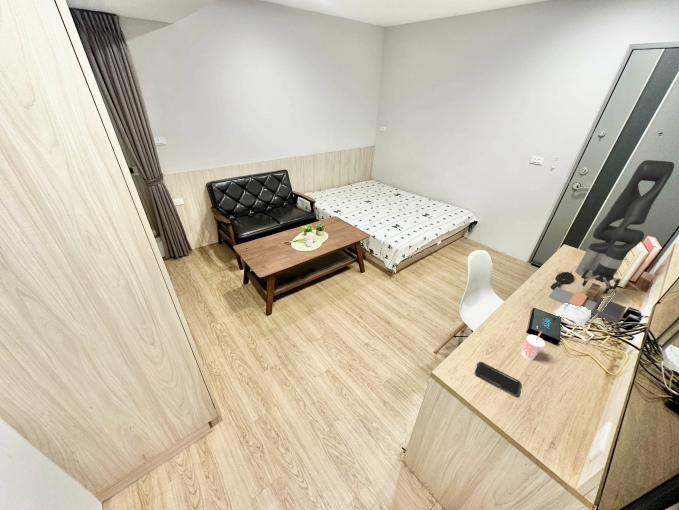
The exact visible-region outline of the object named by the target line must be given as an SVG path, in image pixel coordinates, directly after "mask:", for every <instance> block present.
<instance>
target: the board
mask: <svg viewBox="0 0 679 510" xmlns="http://www.w3.org/2000/svg"><path fill="white" fill-rule="evenodd" d="M574 294H575V293H573V292H571V291H569V290H566V289H563V288H561V287H560V286H559V287H558V286H557V287H556V288H555V289H554V290H553V291H551V293H549V296H548V298H550V299H552V300H554V301H556V302H558V303H561V304H563V305H565V304H564V303H568V304H572V303H570V302H569V301H570V299H571V298H572V297H573V296H574ZM596 304H597V302H595V301H593V300H592V301H591V300H588V299H586V300H585V301H584V303H583V304H582V306H583V307H586V308H587V309H588V310H591V312H592V310H593V309H594V307H595V305H596ZM572 305H575V304H572ZM575 306H577V305H575Z"/></svg>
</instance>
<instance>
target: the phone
mask: <svg viewBox="0 0 679 510" xmlns="http://www.w3.org/2000/svg"><path fill="white" fill-rule="evenodd" d="M474 376H475V377H477V378H479V379H481V380H483V381H484V382H486V383H488V384H490V385H491V386H494V387H496V388H497V389H500V390H501V391H503V392H504V393H507V394H508V395H510V396H512V397H514V398H518V397H519V396H520V394H521V393H520V392H521V388H522V382H521V381H520V380H519V379H516V378H515V377H513V376H511V375H508V374H507V373H505V372H503V371H501V370H499V369H497V368H495V367H493V366H491V365H489V364H487V363H485V362H483V361H478V363H477V365H476V368H475V370H474Z"/></svg>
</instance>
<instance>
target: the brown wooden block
mask: <svg viewBox="0 0 679 510" xmlns="http://www.w3.org/2000/svg"><path fill="white" fill-rule="evenodd" d="M601 287H602V285H599V284H598V283H594V282H592V284H591V285H590V287H589V289H587V291H586V293H585V294H584V295H586V296H588V297H587V298H586V299H588V300H591V301H593V300H594V298H595V296H596V295H597V293H598V291H599V290H600V289H601Z"/></svg>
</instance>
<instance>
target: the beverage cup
mask: <svg viewBox="0 0 679 510" xmlns="http://www.w3.org/2000/svg"><path fill="white" fill-rule="evenodd" d="M541 334H542V331H541V330H540V331H539V333H538V335H534V334H528V335H527V336H526V341H525V343H524V345H523V347H522V349H521V356H522V357H524V358H525V359H526V360H529V361H533V360H534V359H535V358H536V356H538V353H540V351H541V350H542V348H544V347H545V346H546V342H545V341H544V339H543V338H541V337H540V335H541Z"/></svg>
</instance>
